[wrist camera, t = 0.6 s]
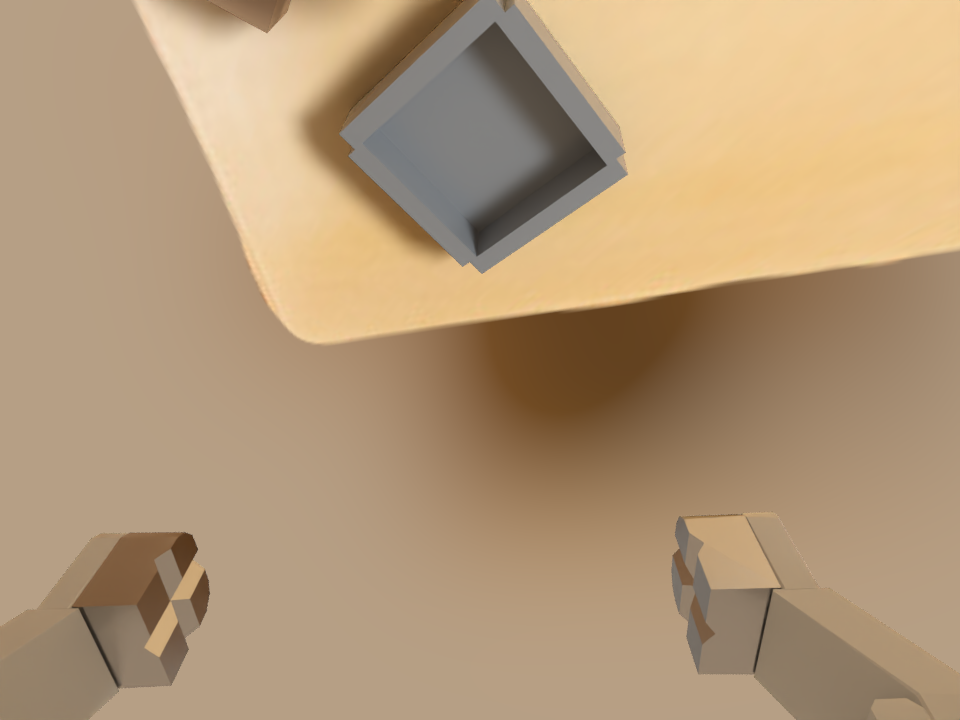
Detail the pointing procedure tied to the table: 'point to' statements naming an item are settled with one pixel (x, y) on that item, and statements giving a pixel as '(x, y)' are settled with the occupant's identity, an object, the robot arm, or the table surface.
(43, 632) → the robot arm
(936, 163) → the table surface
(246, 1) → the walnut block
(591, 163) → the gray square tray
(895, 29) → the table surface
